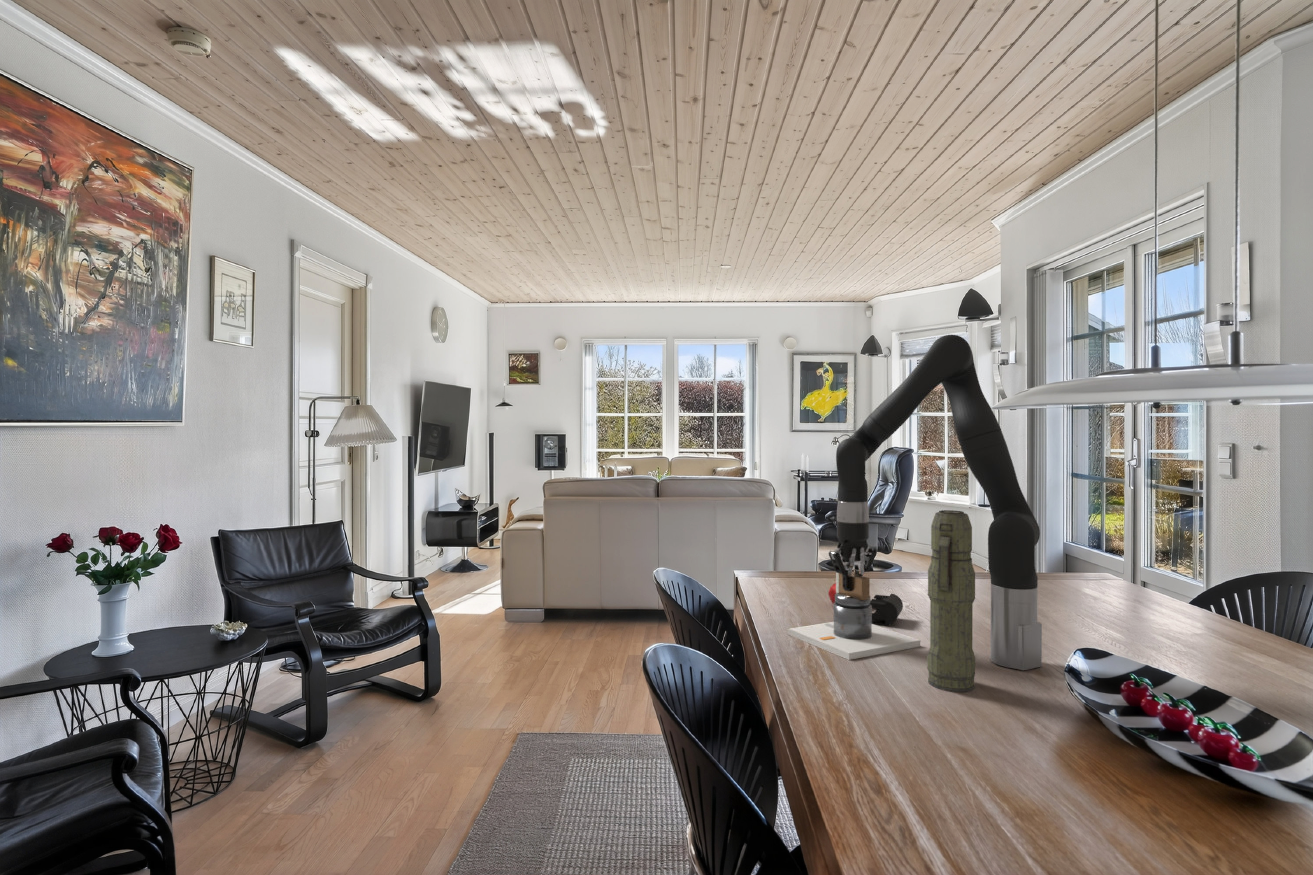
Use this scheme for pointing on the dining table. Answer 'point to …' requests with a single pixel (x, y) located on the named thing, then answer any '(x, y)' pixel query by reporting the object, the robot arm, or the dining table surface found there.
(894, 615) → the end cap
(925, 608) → the dining table surface
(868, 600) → the lock lever handle
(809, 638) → the lock base
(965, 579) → the thermos
